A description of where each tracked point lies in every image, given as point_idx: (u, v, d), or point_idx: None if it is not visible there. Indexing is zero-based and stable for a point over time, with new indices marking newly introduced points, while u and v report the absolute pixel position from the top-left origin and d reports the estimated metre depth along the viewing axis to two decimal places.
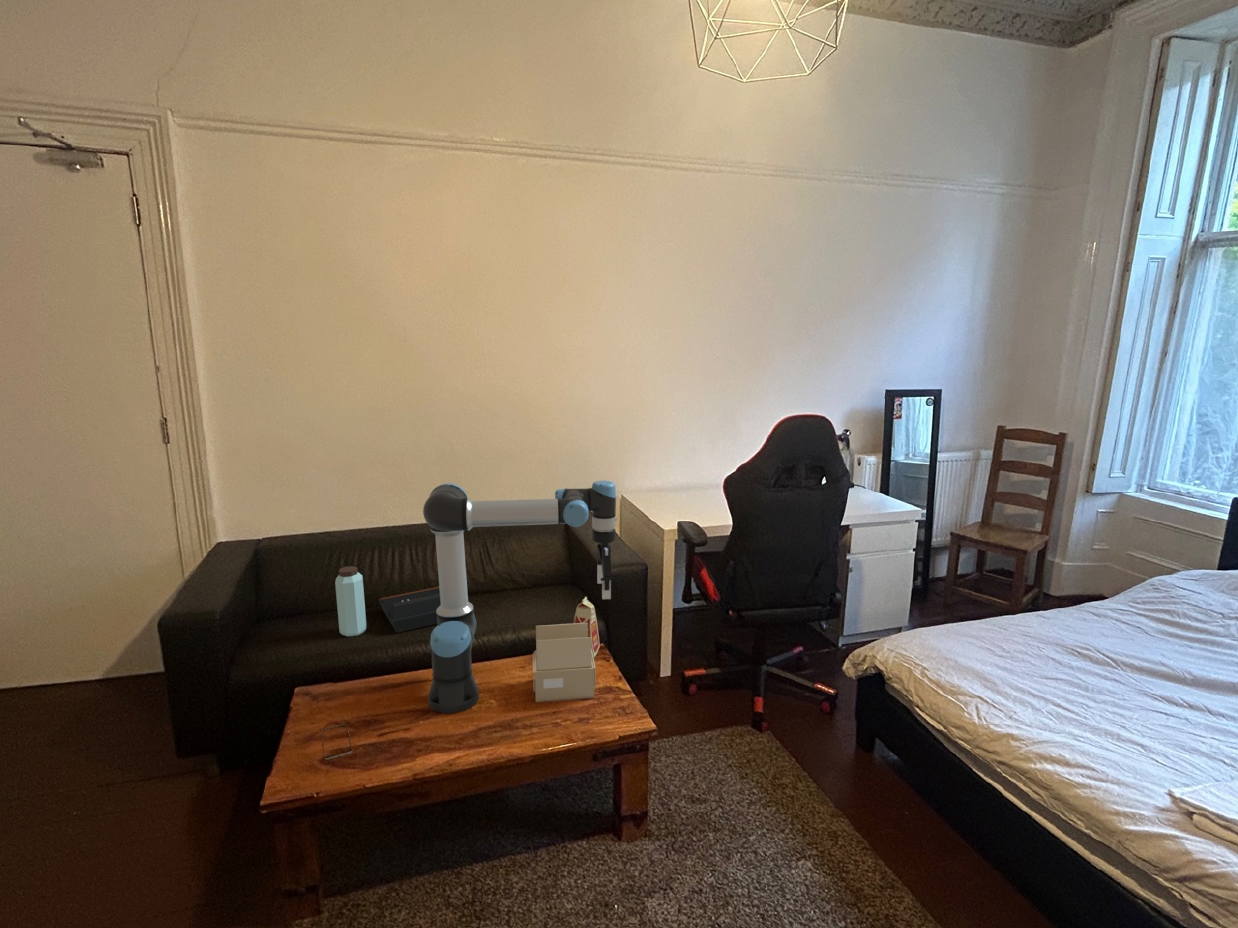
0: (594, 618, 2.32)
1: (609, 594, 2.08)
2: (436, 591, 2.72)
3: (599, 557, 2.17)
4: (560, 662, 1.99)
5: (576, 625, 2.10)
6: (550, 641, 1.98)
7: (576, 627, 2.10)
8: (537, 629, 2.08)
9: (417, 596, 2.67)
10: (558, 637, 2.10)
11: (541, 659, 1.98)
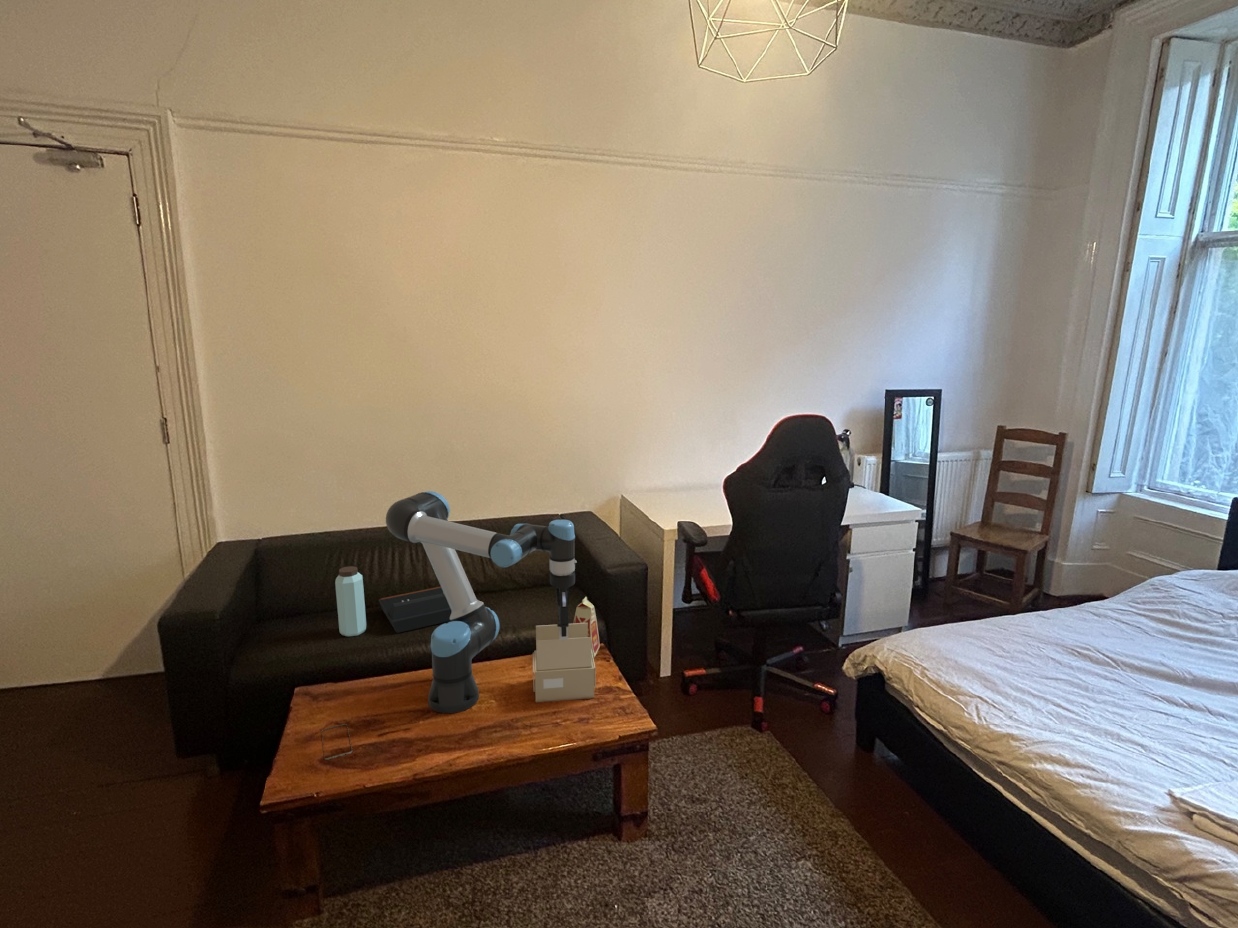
0: (594, 618, 2.32)
1: None
2: (436, 591, 2.72)
3: None
4: (560, 662, 1.99)
5: (576, 625, 2.10)
6: (550, 641, 1.98)
7: (576, 627, 2.10)
8: (537, 629, 2.08)
9: (417, 596, 2.67)
10: (558, 637, 2.10)
11: (541, 659, 1.98)
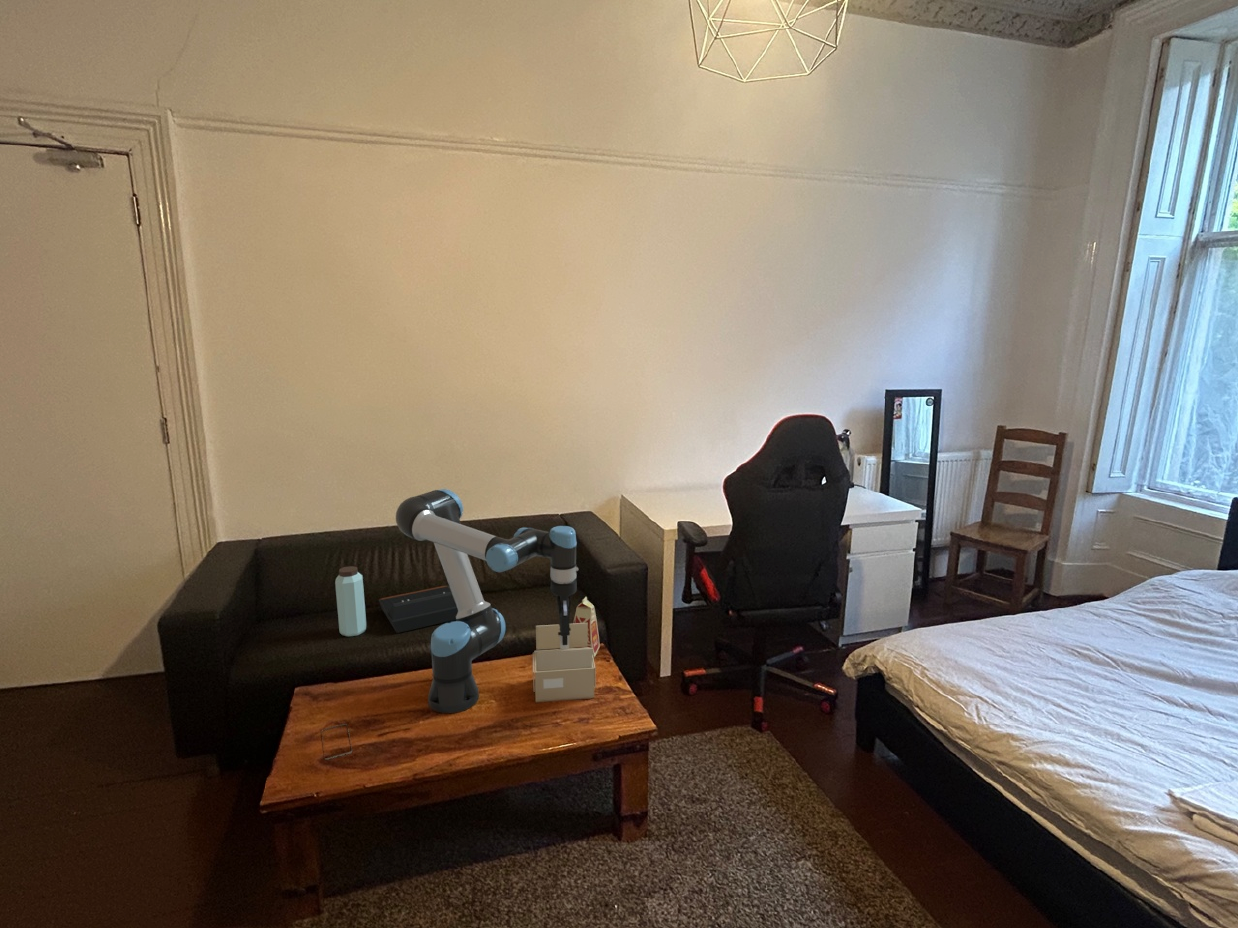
0: (594, 618, 2.32)
1: (567, 649, 1.94)
2: (436, 591, 2.72)
3: None
4: (560, 665, 1.97)
5: (576, 625, 2.10)
6: (551, 652, 1.93)
7: (576, 627, 2.10)
8: (537, 629, 2.08)
9: (417, 596, 2.67)
10: (558, 637, 2.10)
11: (542, 663, 1.96)
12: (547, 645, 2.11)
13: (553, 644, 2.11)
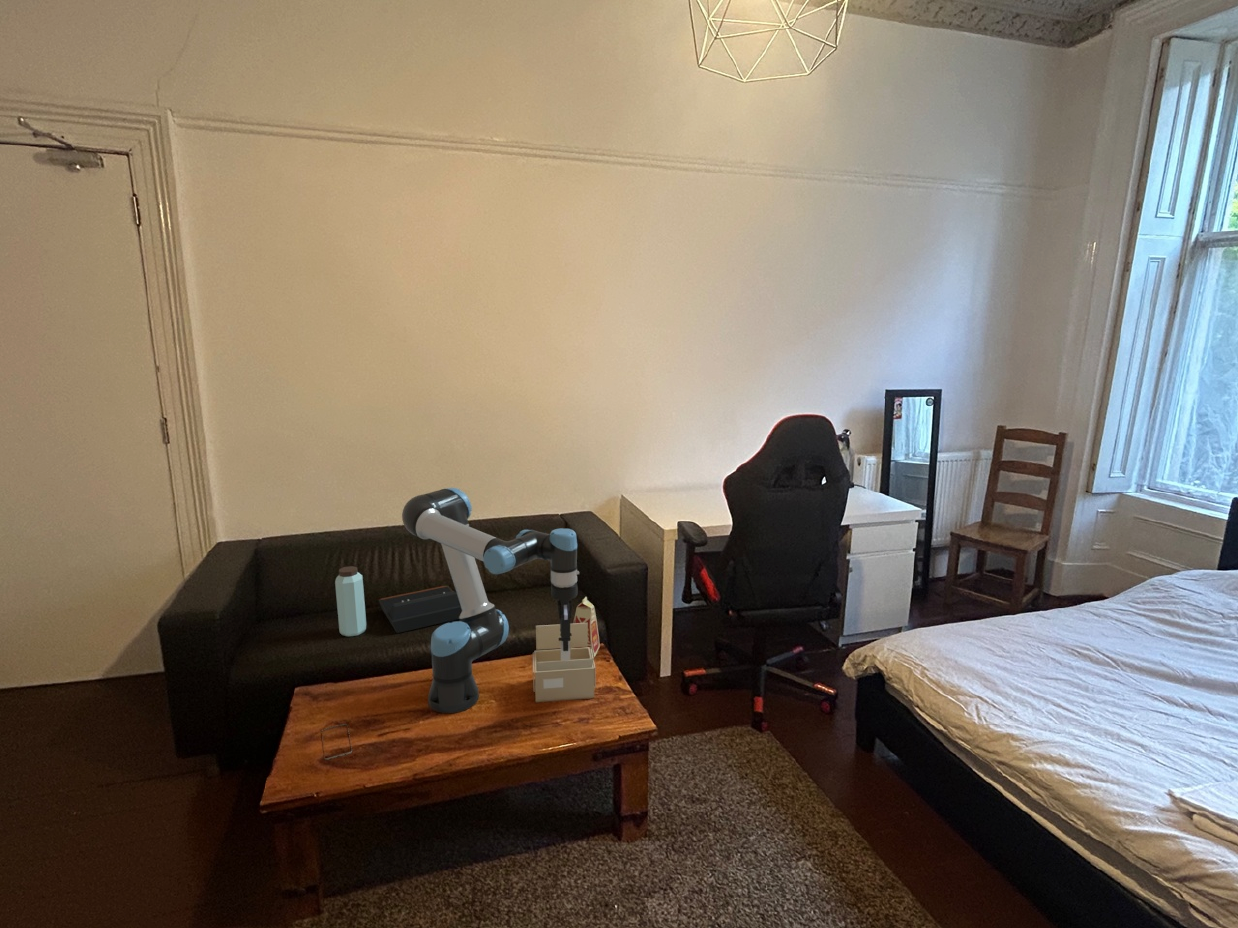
0: (594, 618, 2.32)
1: (568, 655, 1.90)
2: (436, 591, 2.72)
3: None
4: (560, 667, 1.97)
5: (576, 625, 2.10)
6: (551, 662, 1.91)
7: (576, 627, 2.10)
8: (537, 629, 2.08)
9: (417, 596, 2.67)
10: (558, 637, 2.10)
11: (542, 667, 1.95)
12: (547, 645, 2.11)
13: (553, 644, 2.11)
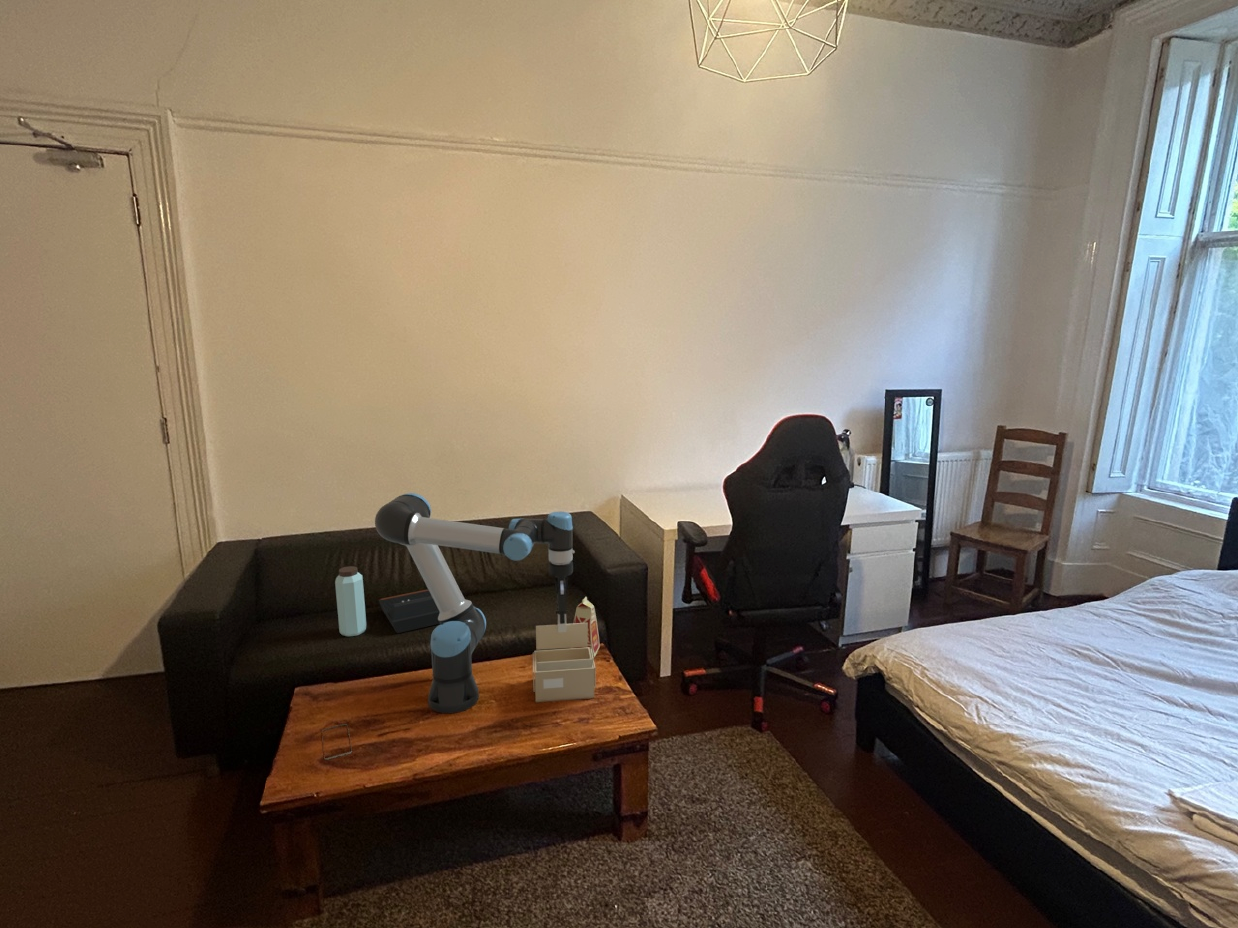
0: (594, 618, 2.32)
1: (565, 627, 2.08)
2: None
3: None
4: (560, 667, 1.97)
5: (576, 625, 2.10)
6: (551, 662, 1.91)
7: (576, 627, 2.10)
8: (537, 629, 2.08)
9: (417, 596, 2.66)
10: (558, 637, 2.10)
11: (542, 667, 1.95)
12: (547, 645, 2.11)
13: (553, 644, 2.11)
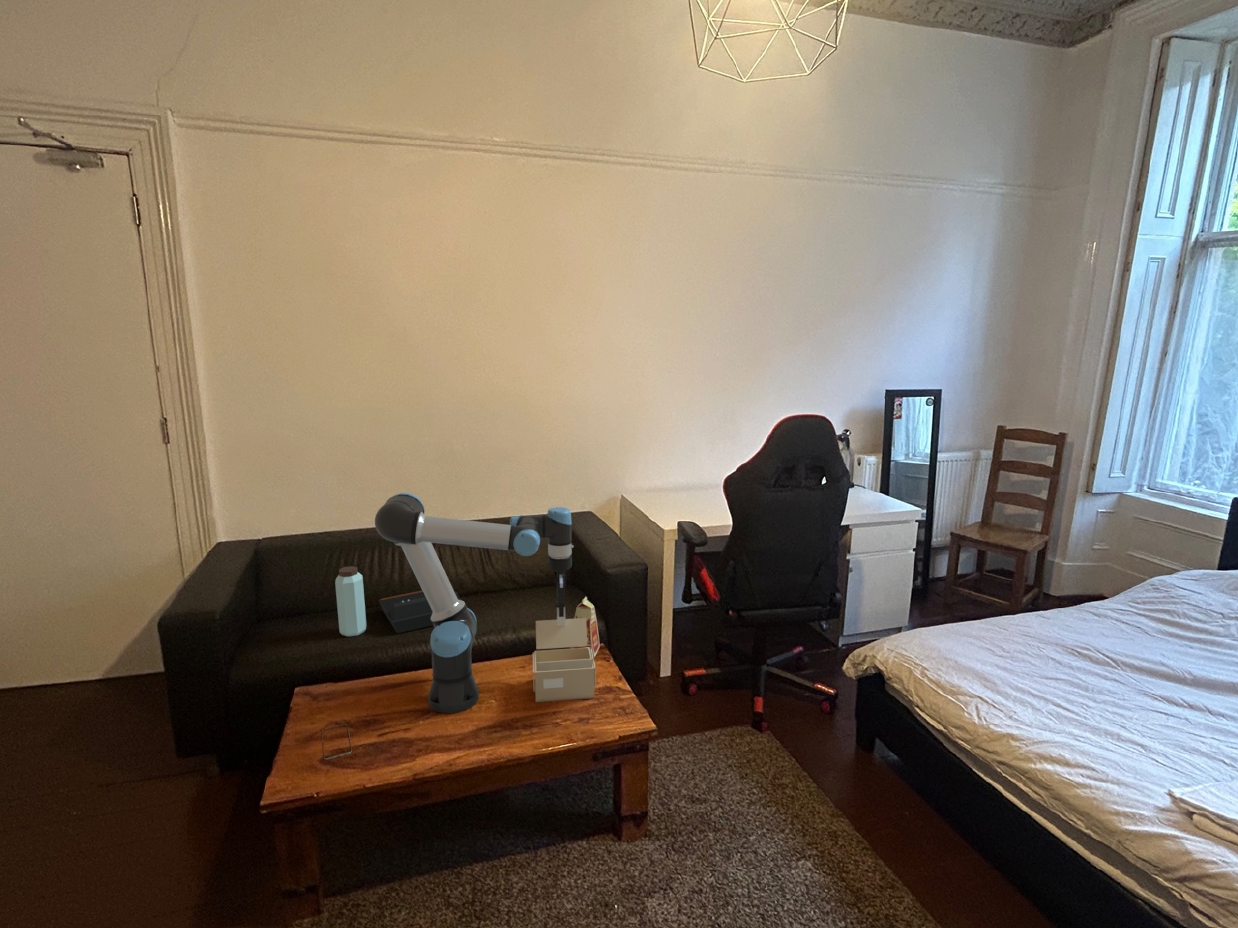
0: (594, 618, 2.32)
1: (564, 620, 2.13)
2: None
3: None
4: (560, 667, 1.97)
5: (575, 620, 2.15)
6: (551, 662, 1.91)
7: (575, 622, 2.15)
8: (537, 624, 2.13)
9: (417, 596, 2.66)
10: (558, 634, 2.13)
11: (542, 667, 1.95)
12: (547, 644, 2.12)
13: (553, 643, 2.12)
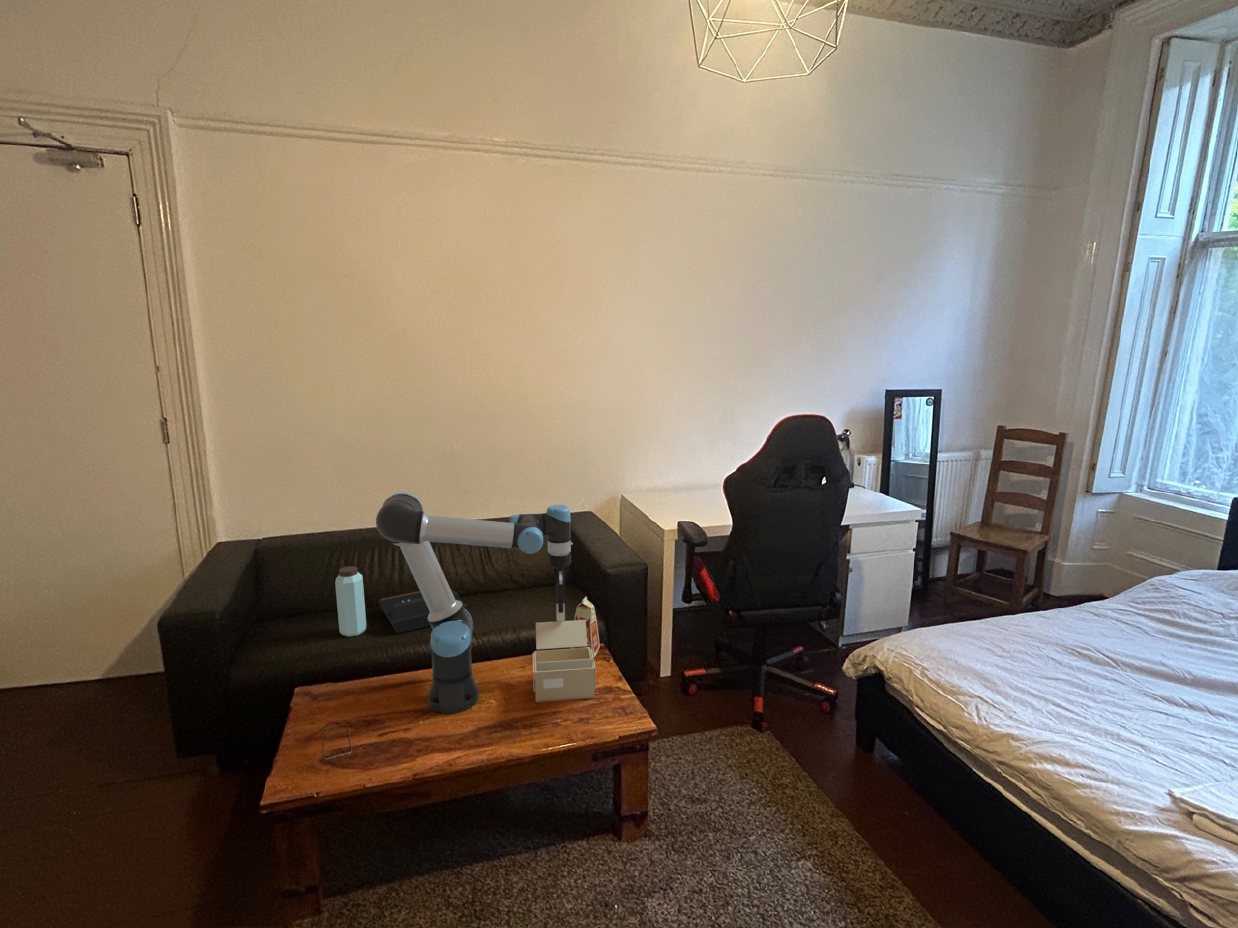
0: (594, 618, 2.32)
1: (563, 616, 2.16)
2: None
3: (557, 587, 2.15)
4: (560, 667, 1.97)
5: (575, 622, 2.18)
6: (551, 662, 1.91)
7: (574, 624, 2.17)
8: (537, 626, 2.16)
9: (417, 597, 2.66)
10: (557, 635, 2.14)
11: (542, 667, 1.95)
12: (547, 644, 2.12)
13: (553, 643, 2.13)
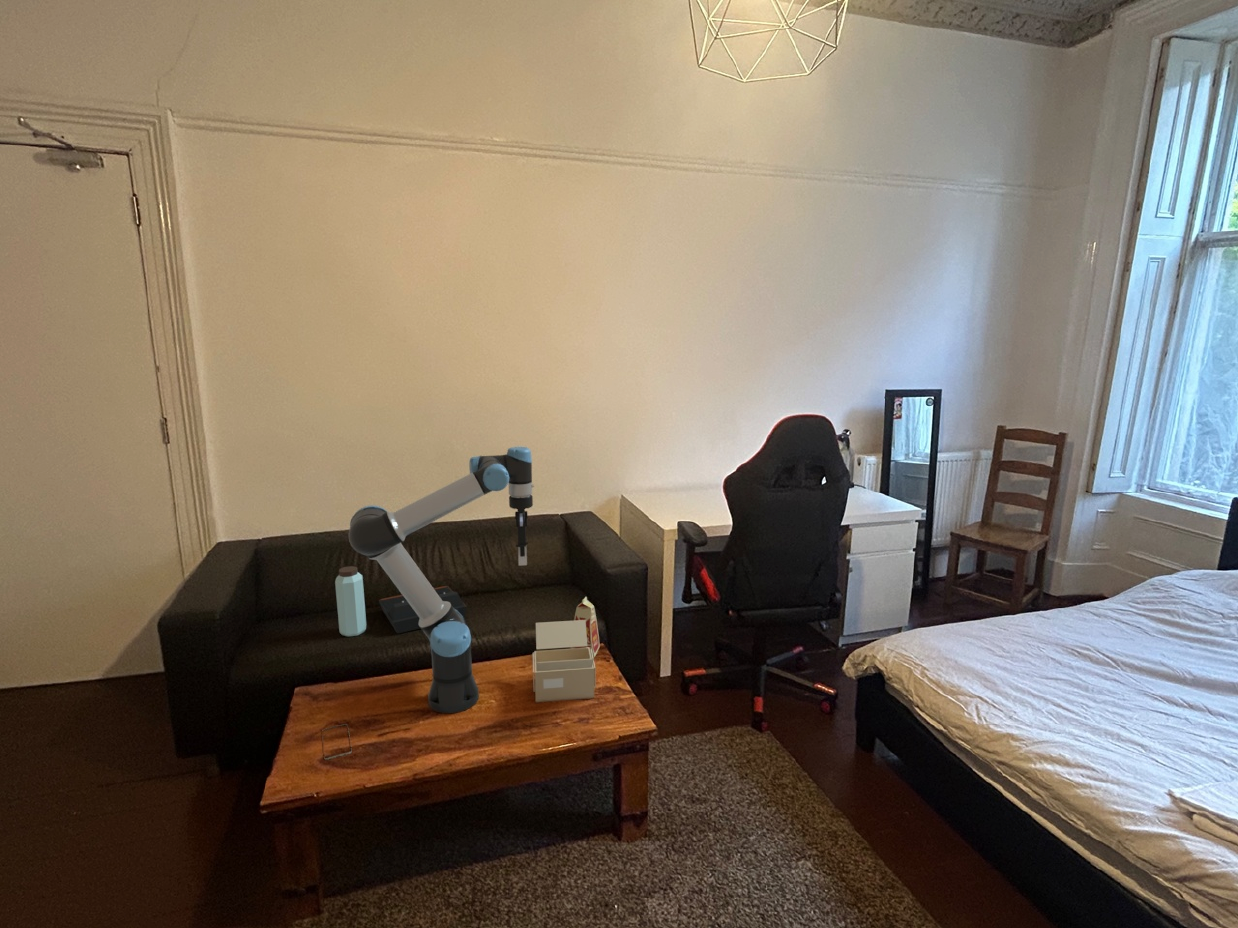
0: (594, 618, 2.32)
1: (525, 560, 2.14)
2: (436, 592, 2.71)
3: None
4: (560, 667, 1.97)
5: (575, 622, 2.18)
6: (551, 662, 1.91)
7: (574, 624, 2.17)
8: (537, 626, 2.16)
9: None
10: (557, 635, 2.14)
11: (542, 667, 1.95)
12: (547, 644, 2.12)
13: (553, 643, 2.13)
